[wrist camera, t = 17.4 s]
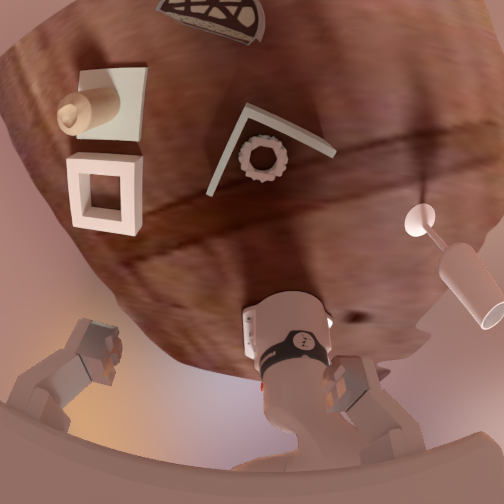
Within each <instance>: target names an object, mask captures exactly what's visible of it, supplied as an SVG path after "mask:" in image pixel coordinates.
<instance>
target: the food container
mask: <svg viewBox="0 0 504 504" xmlns="http://www.w3.org/2000/svg"><path fill="white" fill-rule="evenodd" d="M155 10H156V11H157V12H158V11H160V12H162V13H164V14H166V15H168V16H169V17H171V18H173V19H175V20H177V21H178V22H180V23H182V24H183V25H186V26H190V27H193V28H197V29H200V30H204V31H207V32H211V33H214V34H217V35H220V36H223V37H226V38H229V39H232V40H235V41H238V42H240V43H243V44H246V45H250V44H251V43H252V42H253V41H254V40H255V39H258V41H259V42H261V40H262V37H263V35H264V30H265V14H264V10H263V7H262V5H261V3H260V1H259V0H161V1H160V2H159V4H158V5H157V7H156V9H155Z"/></svg>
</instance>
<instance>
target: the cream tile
mask: <svg viewBox="0 0 504 504" xmlns="http://www.w3.org/2000/svg"><path fill="white" fill-rule="evenodd" d="M147 72H148V68H146V67H142V68H110V69H95V70H84V71H80V77H79V89H78V92H79V91H84V90H90V89H96V88H104V87H107V88H111V89H113V90H115V91H116V92H117V94H118V95H119V98H120V109H119V112H118V114H117V115H116V117H115V118H114V119H112V120H111V121H109V122H107V123H105V124H102V125H100V126H97V127H95V128H92V129H90V130H88V131H85V132H83V133H81V134H79V135H77V139H102V140H124V141H140V140H141V131H142V118H143V107H144V97H145V88H146V80H147Z"/></svg>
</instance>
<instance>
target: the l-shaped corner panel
mask: <svg viewBox="0 0 504 504" xmlns="http://www.w3.org/2000/svg"><path fill="white" fill-rule="evenodd" d="M248 118H251V119H253V120H255V121H258V122H260V123H262V124H264V125H267V126H269V127H271V128H273V129H275V130H278V131H280V132H282V133H284V134H286V135H288V136H290V137H292V138H294V139H296V140H298V141H300V142H302V143H304V144H306V145H308V146H310V147H312V148H314V149H316V150H318V151H320V152H322V153H324V154H325V155H327V156H329V157H331V158H333V157H334V155H335V153H336V152H337V151H336V150H335V149H334V148H333V147H332V146H331V145H330V144H329V143H327V142H326V141H325V140H324V139H322V138H321V137H319V136H317V135H315V134H313V133H311V132H309V131H307V130H305V129H303V128H301V127H299V126H297V125H295V124H293V123H291V122H289V121H287V120H285V119H283V118H281V117H279V116H277V115H274V114H272V113H270V112H268V111H266V110H263V109H261V108H259V107H257V106H254V105H252V104H250V103H246V105H245V107H244V109H243V111H242V113H241V115H240V117H239V119H238V121H237V123H236V126H235V128H234V130H233V132H232V134H231V136H230V139H229V141H228V143H227V145H226V148H225V150H224V152H223V154H222V156H221V159H220V161H219V163H218V166H217V168H216V170H215V173H214V175H213V177H212V180H211V182H210V185H209V187H208V190H207V192H206V194H207V195H209V196H213V194H214V191H215V189H216V187H217V185H218V182H219V180H220V178H221V175H222V173H223V171H224V169H225V166H226V164H227V162H228V160H229V158H230V155H231V153H232V151H233V149H234V147H235V145H236V142H237V140H238V138H239V136H240V134H241V132H242V130H243V128H244V125H245V123H246V121H247V119H248ZM259 146H264V147H269V148H273V150H274V152H275V155H276V157H277V160H276V162H275V164H274V165H273V167H272V168H270V169H269V170H266V171H261V170H257V169H255V168H253V166H252V165H251V163H250V161H249V160H250V155H251V151H252V150H254V149H255V148H257V147H259ZM240 151H241V152H239V158H238V159H239V162H240V163H241V170H244V171H246V177H251V178H252V179H253V180H256V179H257V180H260V181H261V182H262V183H263V182H265V181H267V180H269V181H274V179H275V176H282V172H283V171H285V170H286V166H285V165H286V164H287V162H288V157H287V150H286V148H285V147H284V146H283V145H282V142H281V141H278V139H276V138H275V137H274V136H273V137H271V138H270V136H269V135H260V134H259V135H258V137H256V136H254V137H251V138H250V139H249V141H248V142H244V144H243V145H242V148H241V149H240Z"/></svg>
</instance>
